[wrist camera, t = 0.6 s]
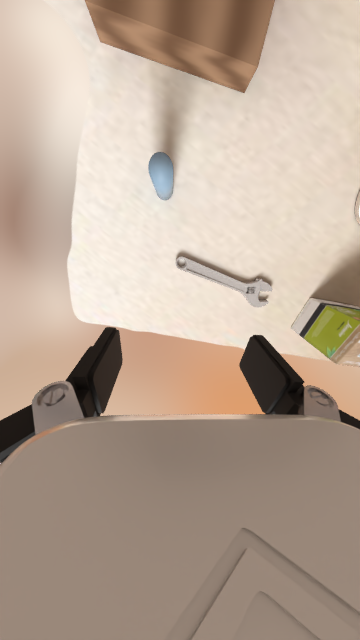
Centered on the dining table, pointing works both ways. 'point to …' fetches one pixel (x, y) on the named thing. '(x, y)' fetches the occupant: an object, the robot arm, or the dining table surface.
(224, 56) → the hole block
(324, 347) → the tea box
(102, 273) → the dining table surface
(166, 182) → the peg
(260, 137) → the dining table surface
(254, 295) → the adjustable wrench
